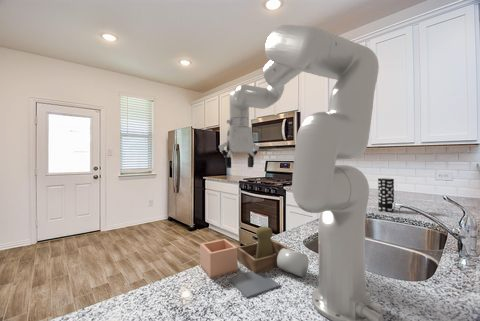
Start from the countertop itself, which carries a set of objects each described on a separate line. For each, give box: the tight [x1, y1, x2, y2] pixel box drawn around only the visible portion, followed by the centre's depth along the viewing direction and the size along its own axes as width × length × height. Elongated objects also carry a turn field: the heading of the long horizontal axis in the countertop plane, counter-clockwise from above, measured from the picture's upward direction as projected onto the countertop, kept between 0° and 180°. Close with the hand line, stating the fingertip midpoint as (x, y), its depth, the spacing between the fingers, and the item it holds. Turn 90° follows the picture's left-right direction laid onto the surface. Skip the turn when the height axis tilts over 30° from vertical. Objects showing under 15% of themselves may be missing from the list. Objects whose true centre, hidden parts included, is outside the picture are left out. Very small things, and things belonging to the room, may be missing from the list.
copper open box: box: [199, 238, 239, 280], centre depth 68 cm, size 9×9×7 cm
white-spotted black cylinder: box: [377, 177, 395, 213], centre depth 141 cm, size 8×8×20 cm
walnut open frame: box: [236, 239, 295, 273], centre depth 73 cm, size 12×15×4 cm
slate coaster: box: [228, 270, 281, 299], centre depth 60 cm, size 10×10×1 cm
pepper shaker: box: [255, 226, 274, 259], centre depth 73 cm, size 6×6×11 cm
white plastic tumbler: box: [277, 248, 309, 278], centre depth 66 cm, size 7×6×6 cm
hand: (239, 167), depth 88 cm, fingers open, 9 cm apart
